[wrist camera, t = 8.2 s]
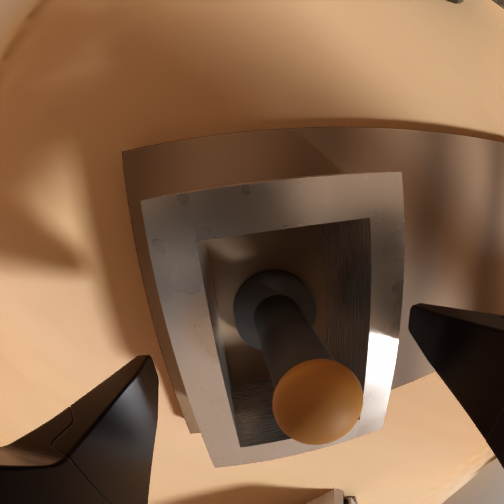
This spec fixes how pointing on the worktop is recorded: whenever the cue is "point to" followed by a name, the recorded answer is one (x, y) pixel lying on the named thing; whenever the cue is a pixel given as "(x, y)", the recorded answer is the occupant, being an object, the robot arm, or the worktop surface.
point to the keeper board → (312, 255)
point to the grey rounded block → (333, 498)
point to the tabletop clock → (501, 0)
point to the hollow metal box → (336, 285)
